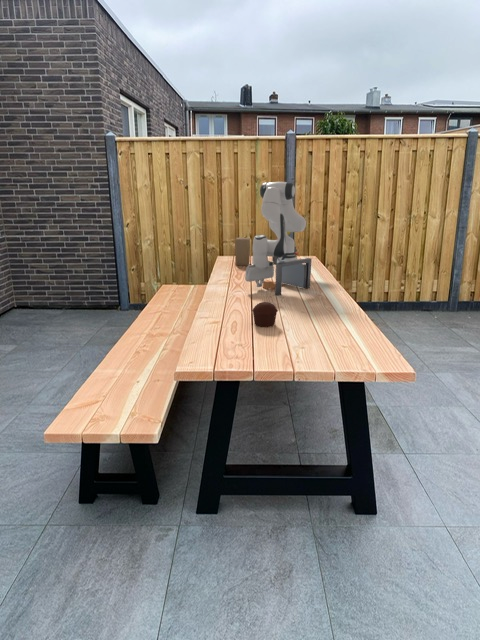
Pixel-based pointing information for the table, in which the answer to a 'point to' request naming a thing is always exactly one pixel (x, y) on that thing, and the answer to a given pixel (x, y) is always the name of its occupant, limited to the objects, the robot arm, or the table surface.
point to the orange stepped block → (269, 284)
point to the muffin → (264, 314)
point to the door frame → (288, 263)
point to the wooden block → (242, 251)
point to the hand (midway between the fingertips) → (259, 286)
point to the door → (294, 274)
